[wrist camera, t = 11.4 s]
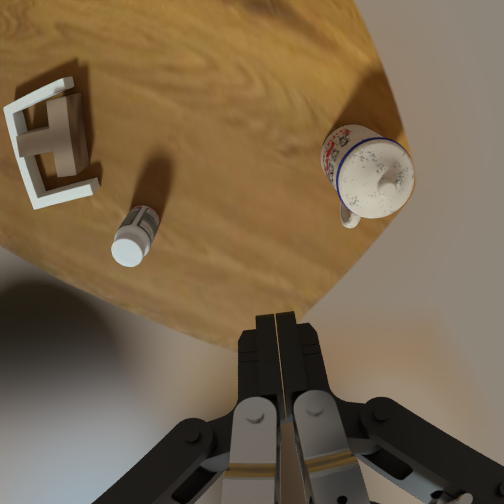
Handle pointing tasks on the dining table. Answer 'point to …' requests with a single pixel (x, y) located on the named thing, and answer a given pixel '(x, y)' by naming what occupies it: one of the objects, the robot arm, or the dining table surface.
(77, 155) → the t block
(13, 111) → the pocket
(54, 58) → the dining table surface
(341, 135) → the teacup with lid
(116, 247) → the pill bottle
